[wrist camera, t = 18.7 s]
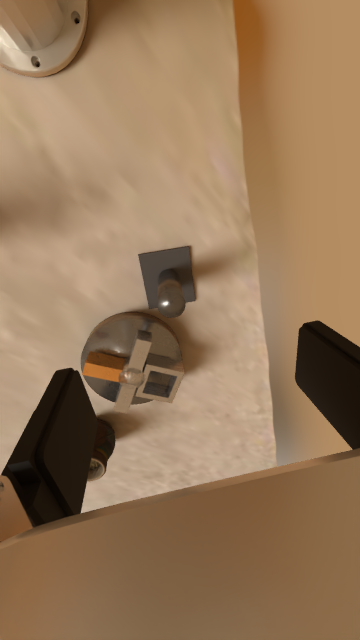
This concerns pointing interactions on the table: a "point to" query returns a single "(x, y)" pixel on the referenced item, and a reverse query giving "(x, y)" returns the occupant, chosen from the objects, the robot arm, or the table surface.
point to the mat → (161, 261)
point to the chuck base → (129, 348)
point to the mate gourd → (101, 450)
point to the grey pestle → (170, 294)
